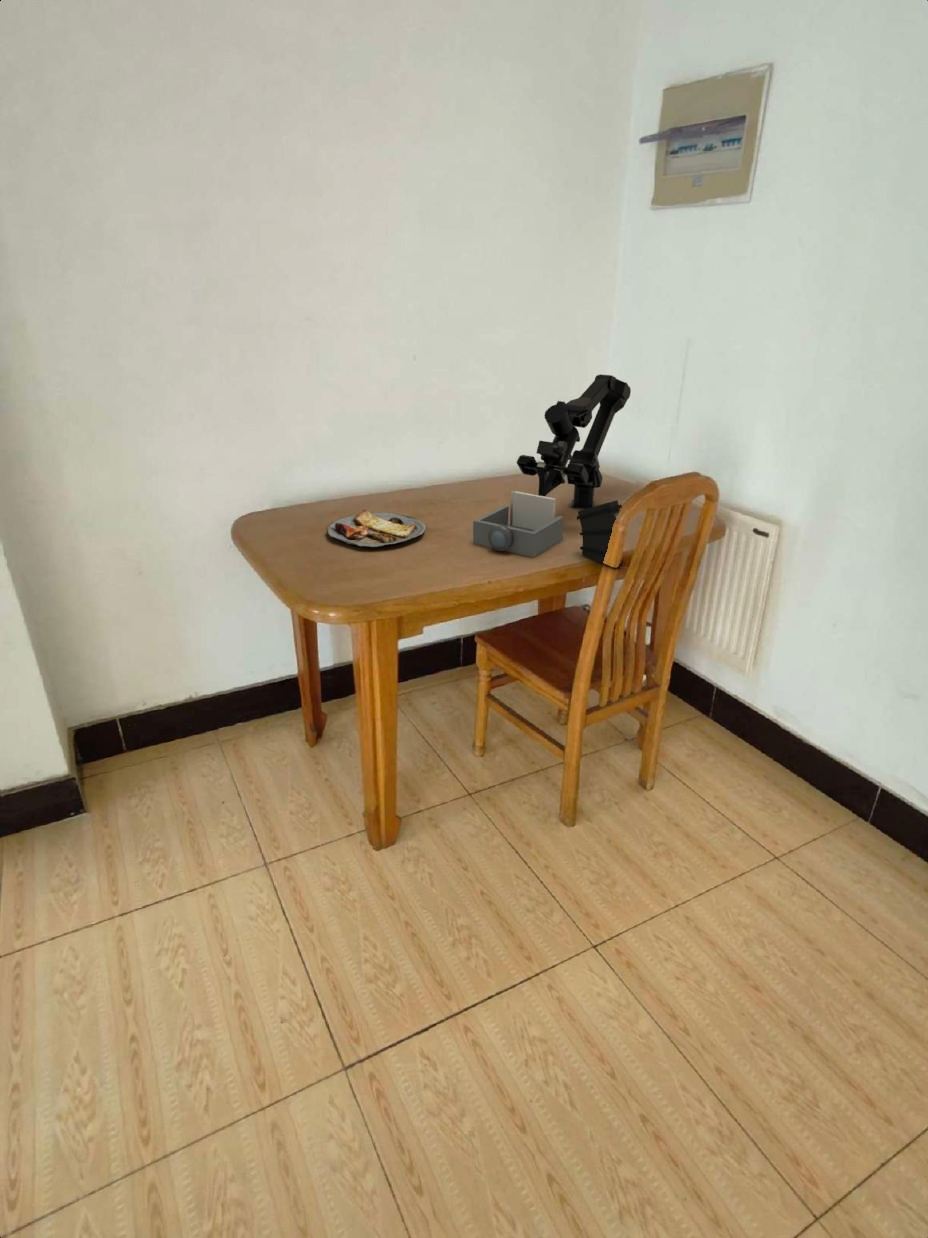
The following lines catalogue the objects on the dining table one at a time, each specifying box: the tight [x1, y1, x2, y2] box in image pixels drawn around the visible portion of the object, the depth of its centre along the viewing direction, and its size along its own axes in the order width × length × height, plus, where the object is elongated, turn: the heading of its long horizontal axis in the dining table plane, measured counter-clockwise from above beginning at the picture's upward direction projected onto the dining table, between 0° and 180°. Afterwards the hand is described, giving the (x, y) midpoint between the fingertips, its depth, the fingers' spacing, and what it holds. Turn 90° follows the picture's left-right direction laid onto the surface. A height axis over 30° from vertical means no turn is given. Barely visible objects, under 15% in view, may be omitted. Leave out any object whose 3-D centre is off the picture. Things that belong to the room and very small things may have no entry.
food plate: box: [325, 509, 426, 548], centre depth 187 cm, size 25×23×4 cm
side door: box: [509, 490, 557, 530], centre depth 186 cm, size 13×2×9 cm, turn 56°
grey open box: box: [472, 505, 565, 559], centre depth 181 cm, size 18×17×7 cm
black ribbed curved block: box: [576, 499, 624, 568], centre depth 169 cm, size 4×13×15 cm, turn 36°
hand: (540, 497), depth 186 cm, fingers closed
